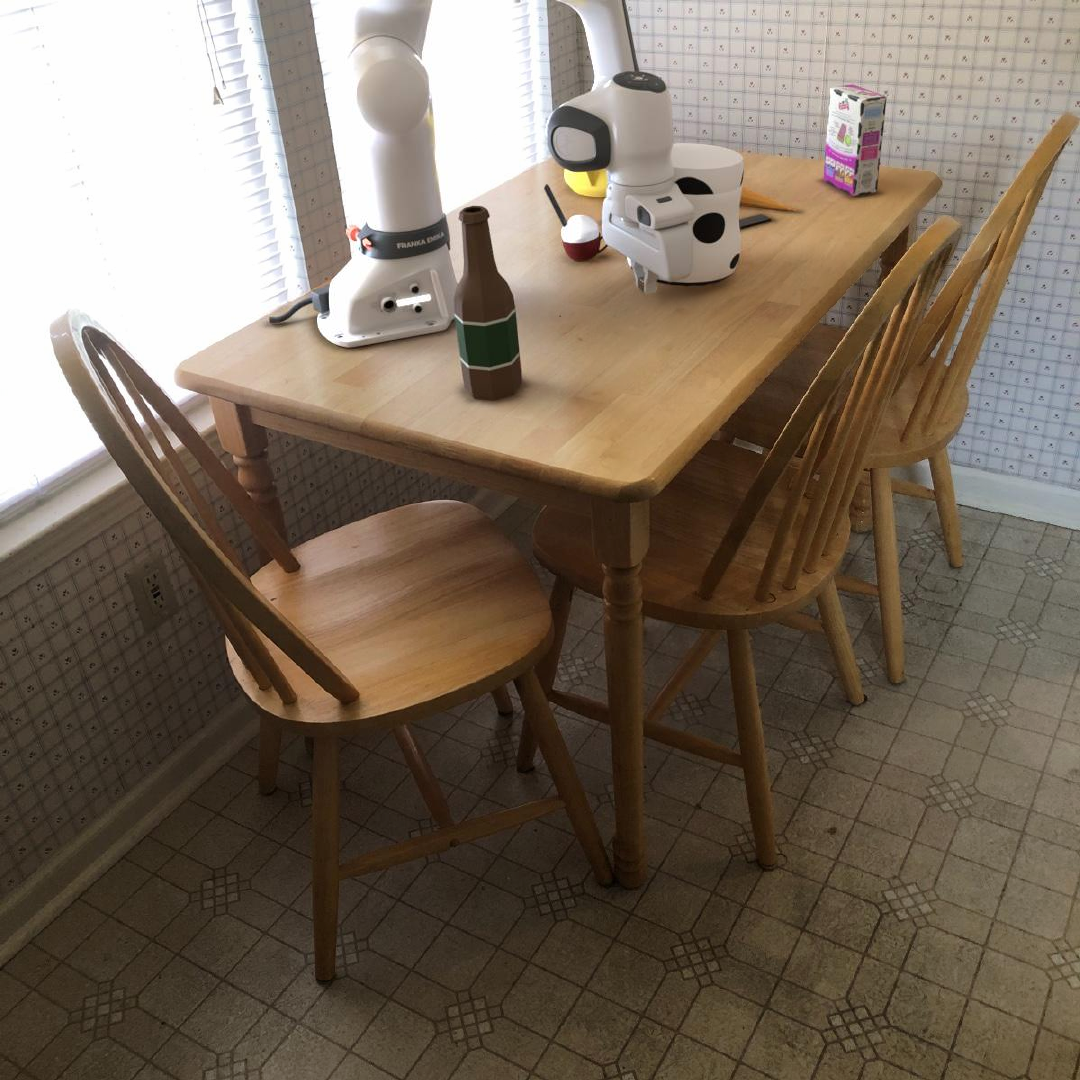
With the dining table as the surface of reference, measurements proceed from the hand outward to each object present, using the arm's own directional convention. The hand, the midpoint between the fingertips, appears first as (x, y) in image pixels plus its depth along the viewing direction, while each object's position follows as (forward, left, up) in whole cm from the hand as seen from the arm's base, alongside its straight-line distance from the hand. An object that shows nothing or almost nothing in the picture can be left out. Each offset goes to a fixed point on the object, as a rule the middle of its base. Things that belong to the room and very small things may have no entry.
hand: (646, 290), depth 164 cm
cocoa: (+1, +23, -3) cm, 24 cm away
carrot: (+36, +27, -3) cm, 45 cm away
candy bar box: (+56, +23, -3) cm, 61 cm away
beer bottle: (-30, -11, -3) cm, 32 cm away
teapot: (+22, +52, -3) cm, 57 cm away
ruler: (+22, +19, -3) cm, 30 cm away
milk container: (+9, +5, -2) cm, 11 cm away
